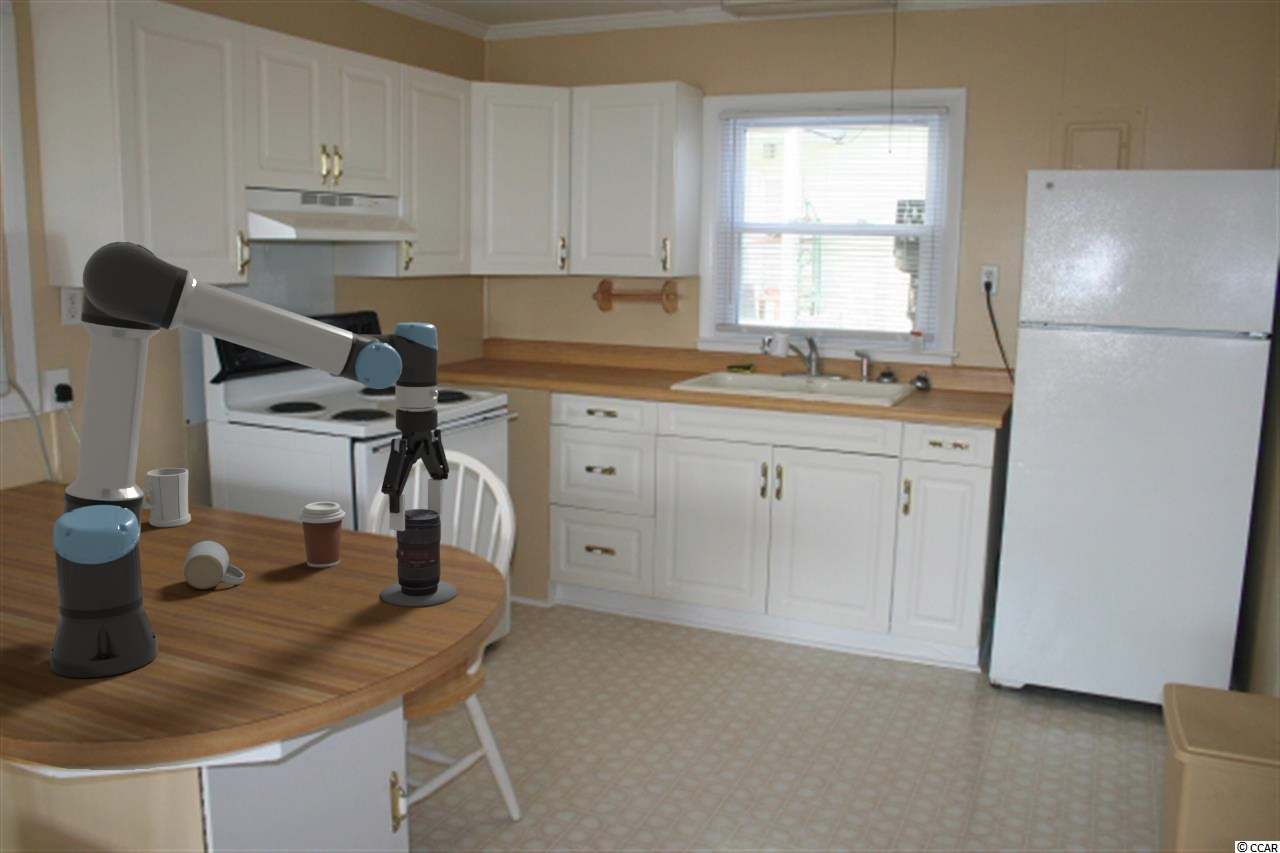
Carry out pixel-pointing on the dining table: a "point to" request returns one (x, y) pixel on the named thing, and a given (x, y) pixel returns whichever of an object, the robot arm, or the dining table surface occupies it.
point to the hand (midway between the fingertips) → (416, 521)
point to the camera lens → (419, 552)
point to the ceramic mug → (210, 566)
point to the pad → (396, 596)
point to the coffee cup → (322, 533)
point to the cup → (167, 497)
